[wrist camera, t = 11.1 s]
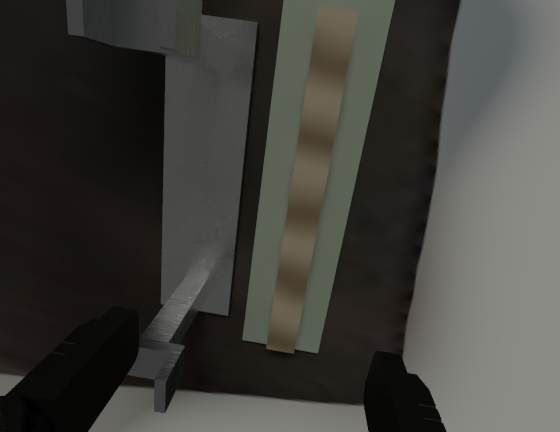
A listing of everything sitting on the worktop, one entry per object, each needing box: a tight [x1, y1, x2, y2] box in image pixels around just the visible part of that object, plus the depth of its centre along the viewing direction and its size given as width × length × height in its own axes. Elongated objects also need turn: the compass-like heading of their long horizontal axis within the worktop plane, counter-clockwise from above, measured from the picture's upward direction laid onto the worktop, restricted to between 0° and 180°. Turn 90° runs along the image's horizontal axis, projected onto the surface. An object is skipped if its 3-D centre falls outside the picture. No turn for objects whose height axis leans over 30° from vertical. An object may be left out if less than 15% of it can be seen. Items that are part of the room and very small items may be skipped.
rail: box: [266, 6, 358, 354], centre depth 31 cm, size 32×3×3 cm, turn 172°
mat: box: [242, 0, 395, 353], centre depth 32 cm, size 36×9×1 cm, turn 172°
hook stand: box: [66, 0, 259, 413], centre depth 26 cm, size 30×8×15 cm, turn 172°
